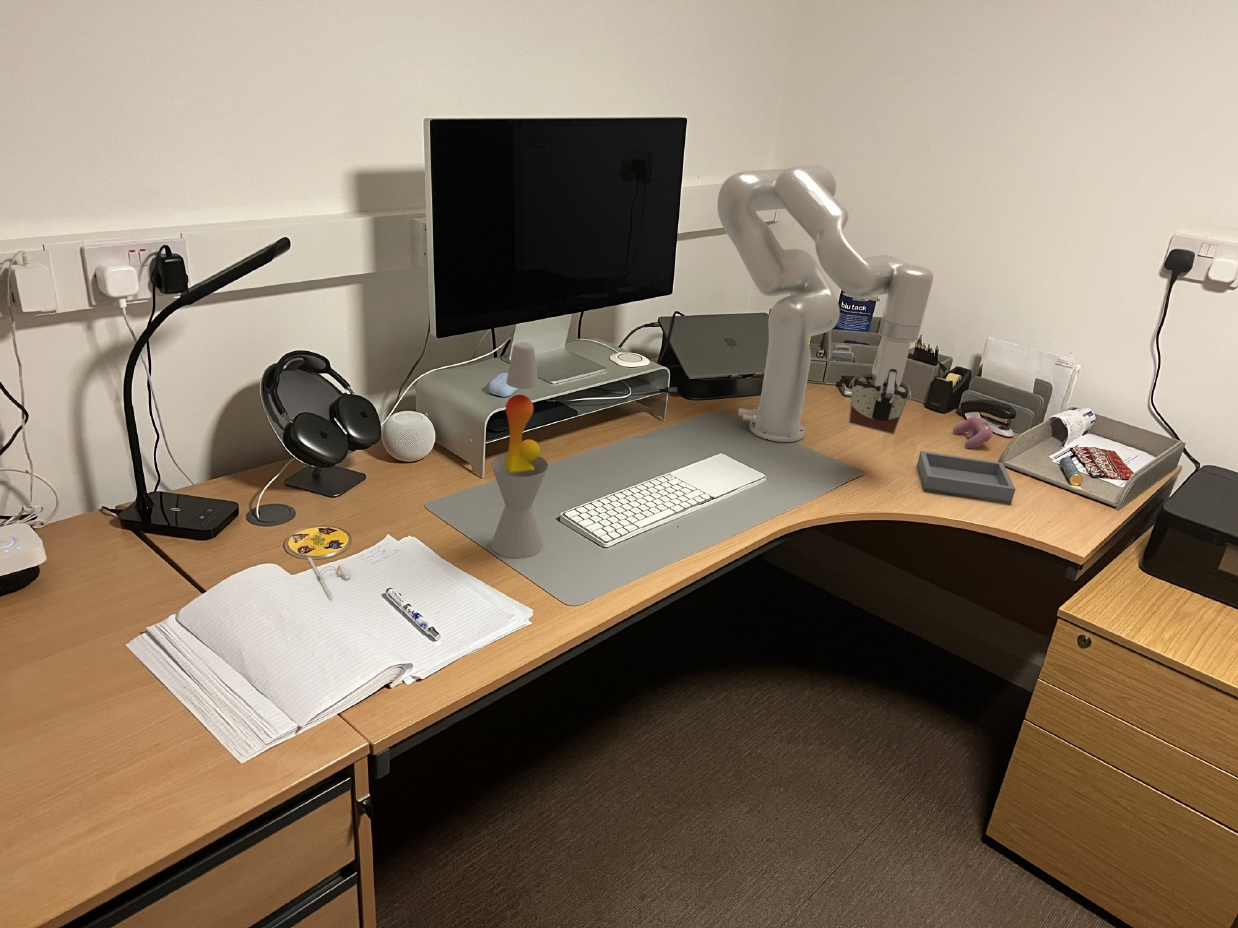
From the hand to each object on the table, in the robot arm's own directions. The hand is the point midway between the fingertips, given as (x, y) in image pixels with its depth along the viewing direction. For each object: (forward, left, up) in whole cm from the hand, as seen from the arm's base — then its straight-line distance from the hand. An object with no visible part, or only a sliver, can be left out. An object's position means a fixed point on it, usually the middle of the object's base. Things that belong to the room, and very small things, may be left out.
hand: (878, 412), depth 181 cm
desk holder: (+20, 0, -13) cm, 23 cm away
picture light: (-84, -71, -14) cm, 111 cm away
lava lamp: (-60, -53, -13) cm, 82 cm away
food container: (0, +1, -3) cm, 3 cm away
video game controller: (+25, +25, -13) cm, 38 cm away
